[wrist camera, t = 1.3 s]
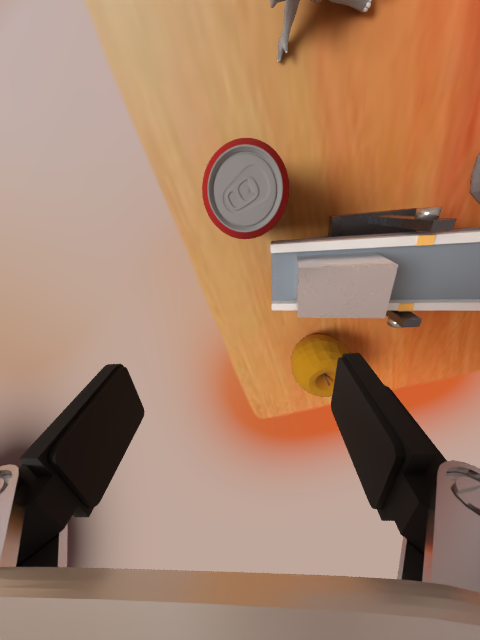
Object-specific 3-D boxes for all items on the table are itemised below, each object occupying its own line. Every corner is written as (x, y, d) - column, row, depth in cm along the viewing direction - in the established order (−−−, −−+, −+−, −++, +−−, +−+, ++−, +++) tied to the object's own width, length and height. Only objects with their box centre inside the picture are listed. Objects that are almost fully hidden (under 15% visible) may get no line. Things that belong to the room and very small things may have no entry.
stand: (274, 216, 27) (288, 223, 17) (479, 197, 25) (629, 191, 15) (275, 299, 32) (286, 340, 22) (445, 287, 30) (540, 327, 20)
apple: (275, 338, 35) (283, 376, 27) (324, 312, 32) (348, 346, 25) (300, 372, 38) (313, 415, 30) (346, 351, 35) (373, 391, 28)
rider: (296, 255, 21) (299, 268, 17) (374, 251, 20) (398, 264, 16) (295, 296, 23) (297, 317, 19) (365, 295, 22) (384, 318, 18)
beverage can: (285, 207, 26) (309, 208, 15) (238, 239, 28) (231, 258, 17) (257, 149, 23) (263, 101, 13) (207, 187, 25) (177, 174, 15)
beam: (271, 241, 23) (270, 245, 20) (597, 219, 17) (641, 222, 15) (272, 302, 26) (271, 310, 24) (547, 300, 20) (577, 311, 18)
